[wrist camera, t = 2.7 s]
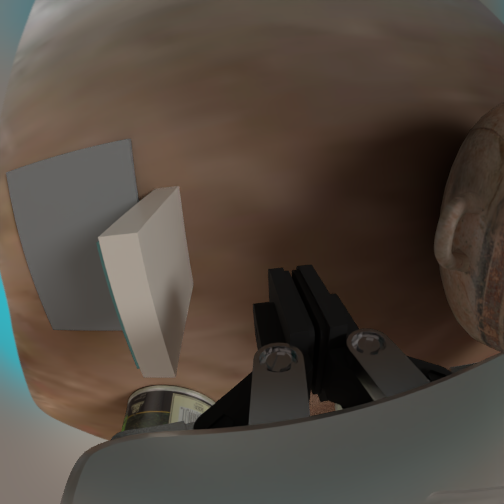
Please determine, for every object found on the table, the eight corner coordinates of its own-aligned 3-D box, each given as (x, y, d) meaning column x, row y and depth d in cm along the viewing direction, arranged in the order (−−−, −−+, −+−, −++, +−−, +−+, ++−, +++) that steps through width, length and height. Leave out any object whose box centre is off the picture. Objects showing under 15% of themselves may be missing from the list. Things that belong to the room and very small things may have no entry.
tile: (178, 185, 18) (137, 232, 10) (193, 284, 21) (175, 377, 12) (150, 189, 18) (91, 237, 10) (167, 286, 21) (138, 377, 12)
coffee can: (131, 429, 28) (112, 532, 15) (124, 374, 24) (88, 508, 11) (217, 443, 29) (219, 548, 16) (233, 393, 25) (241, 532, 13)
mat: (130, 138, 16) (128, 138, 16) (165, 326, 22) (164, 329, 22) (9, 171, 16) (6, 172, 16) (54, 327, 21) (53, 329, 21)
